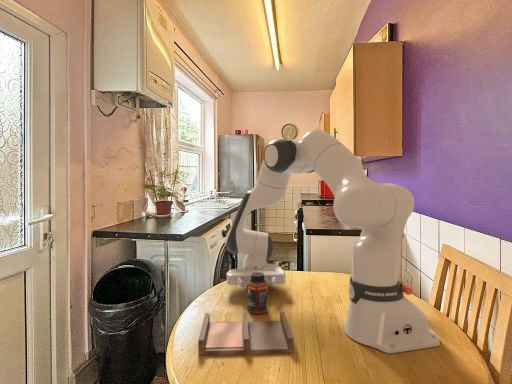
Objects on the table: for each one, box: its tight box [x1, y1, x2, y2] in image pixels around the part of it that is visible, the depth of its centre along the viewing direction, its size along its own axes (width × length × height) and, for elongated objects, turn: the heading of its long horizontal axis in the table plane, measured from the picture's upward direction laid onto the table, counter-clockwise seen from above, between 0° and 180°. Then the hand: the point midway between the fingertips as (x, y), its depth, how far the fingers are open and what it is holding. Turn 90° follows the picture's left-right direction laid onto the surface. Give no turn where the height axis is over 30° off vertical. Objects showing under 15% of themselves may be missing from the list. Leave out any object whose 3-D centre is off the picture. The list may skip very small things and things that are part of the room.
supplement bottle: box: [247, 272, 268, 315], centre depth 93 cm, size 6×6×11 cm
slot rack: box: [197, 311, 294, 356], centre depth 77 cm, size 22×14×4 cm, turn 93°
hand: (257, 284), depth 100 cm, fingers open, 8 cm apart
